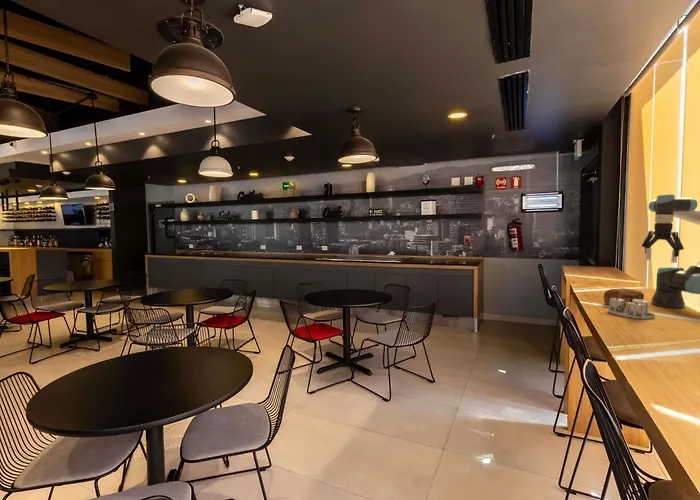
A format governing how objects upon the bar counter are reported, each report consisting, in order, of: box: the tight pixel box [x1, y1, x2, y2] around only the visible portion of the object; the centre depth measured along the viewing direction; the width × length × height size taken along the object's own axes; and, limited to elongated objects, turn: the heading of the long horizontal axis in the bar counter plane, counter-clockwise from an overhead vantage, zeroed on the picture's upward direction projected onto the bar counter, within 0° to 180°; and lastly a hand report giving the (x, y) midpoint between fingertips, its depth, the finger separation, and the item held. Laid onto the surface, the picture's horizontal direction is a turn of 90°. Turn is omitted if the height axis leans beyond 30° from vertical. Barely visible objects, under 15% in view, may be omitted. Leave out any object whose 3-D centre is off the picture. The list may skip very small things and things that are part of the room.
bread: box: [603, 287, 644, 308], centre depth 217 cm, size 19×11×10 cm, turn 102°
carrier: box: [608, 298, 655, 320], centre depth 196 cm, size 20×20×8 cm
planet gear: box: [632, 299, 649, 313], centre depth 198 cm, size 7×7×6 cm
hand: (660, 261), depth 199 cm, fingers open, 13 cm apart
